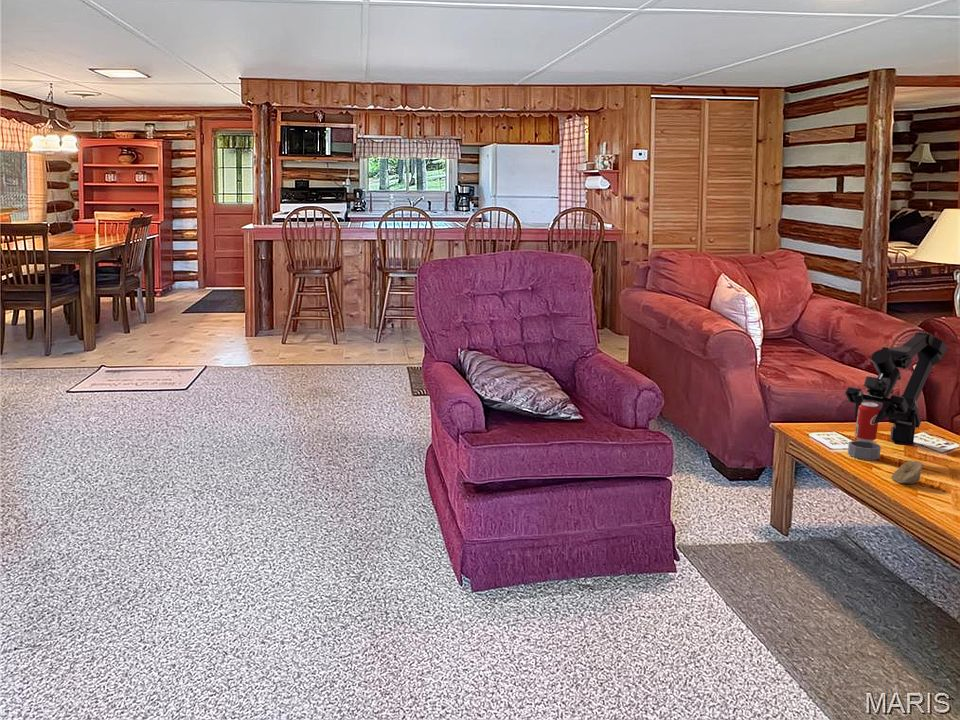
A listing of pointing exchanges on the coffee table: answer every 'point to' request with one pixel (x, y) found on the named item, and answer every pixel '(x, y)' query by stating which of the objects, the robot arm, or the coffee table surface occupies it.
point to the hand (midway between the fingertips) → (865, 420)
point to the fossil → (908, 472)
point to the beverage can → (867, 422)
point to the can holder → (864, 450)
